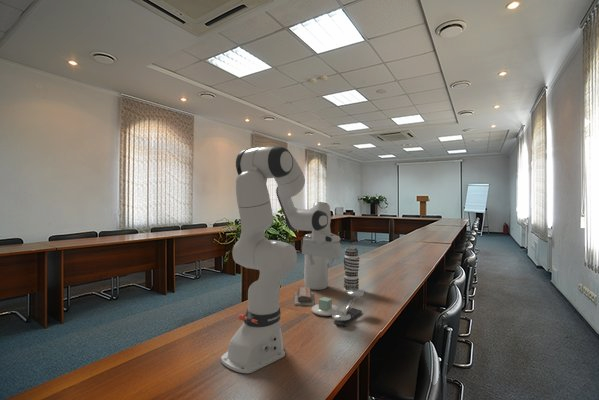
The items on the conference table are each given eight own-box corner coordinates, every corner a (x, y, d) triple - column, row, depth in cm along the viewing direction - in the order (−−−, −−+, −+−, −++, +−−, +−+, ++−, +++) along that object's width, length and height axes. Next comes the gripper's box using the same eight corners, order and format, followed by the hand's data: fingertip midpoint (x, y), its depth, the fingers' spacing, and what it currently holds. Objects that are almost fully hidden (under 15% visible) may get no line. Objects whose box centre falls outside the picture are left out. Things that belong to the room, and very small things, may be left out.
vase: (321, 292, 165) (321, 237, 165) (299, 288, 173) (300, 235, 172) (331, 285, 177) (332, 234, 177) (311, 282, 185) (311, 233, 185)
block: (327, 311, 133) (327, 301, 133) (318, 309, 136) (318, 299, 136) (331, 308, 137) (331, 298, 137) (323, 306, 140) (323, 296, 140)
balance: (345, 329, 118) (345, 305, 118) (328, 324, 123) (328, 300, 123) (366, 312, 136) (366, 291, 136) (350, 308, 141) (351, 287, 141)
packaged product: (295, 285, 162) (312, 286, 162) (295, 294, 162) (312, 294, 162) (294, 296, 144) (314, 296, 144) (294, 306, 144) (314, 306, 144)
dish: (330, 319, 127) (330, 316, 127) (306, 312, 135) (306, 309, 135) (344, 310, 138) (344, 307, 138) (320, 304, 146) (320, 301, 146)
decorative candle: (360, 292, 164) (361, 249, 164) (344, 292, 165) (344, 248, 164) (357, 287, 174) (358, 246, 173) (342, 287, 174) (342, 246, 174)
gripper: (299, 235, 140) (298, 264, 139) (336, 238, 128) (336, 270, 127) (306, 234, 145) (306, 262, 144) (343, 237, 133) (342, 267, 132)
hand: (320, 265), depth 136 cm, fingers open, 8 cm apart
